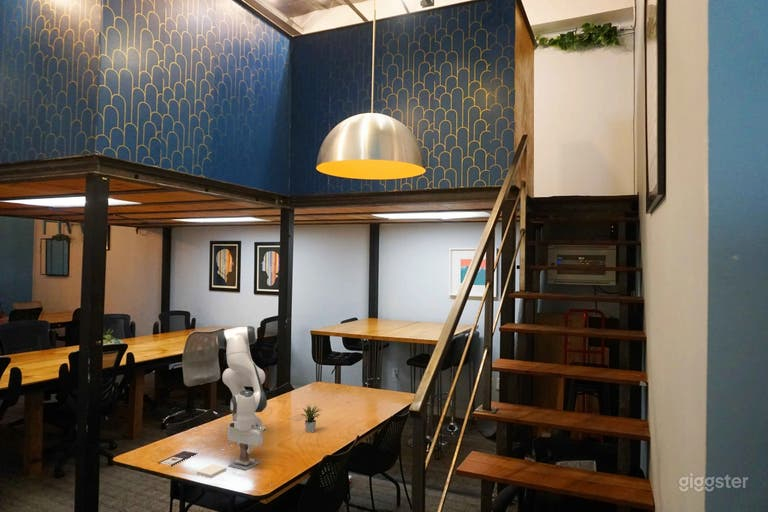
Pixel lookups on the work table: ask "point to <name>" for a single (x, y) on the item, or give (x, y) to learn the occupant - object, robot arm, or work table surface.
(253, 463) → the slate mat
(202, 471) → the tile
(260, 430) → the robot arm
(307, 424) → the house plant
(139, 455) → the work table surface
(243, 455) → the wood block on plate
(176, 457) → the chocolate bar
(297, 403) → the work table surface
